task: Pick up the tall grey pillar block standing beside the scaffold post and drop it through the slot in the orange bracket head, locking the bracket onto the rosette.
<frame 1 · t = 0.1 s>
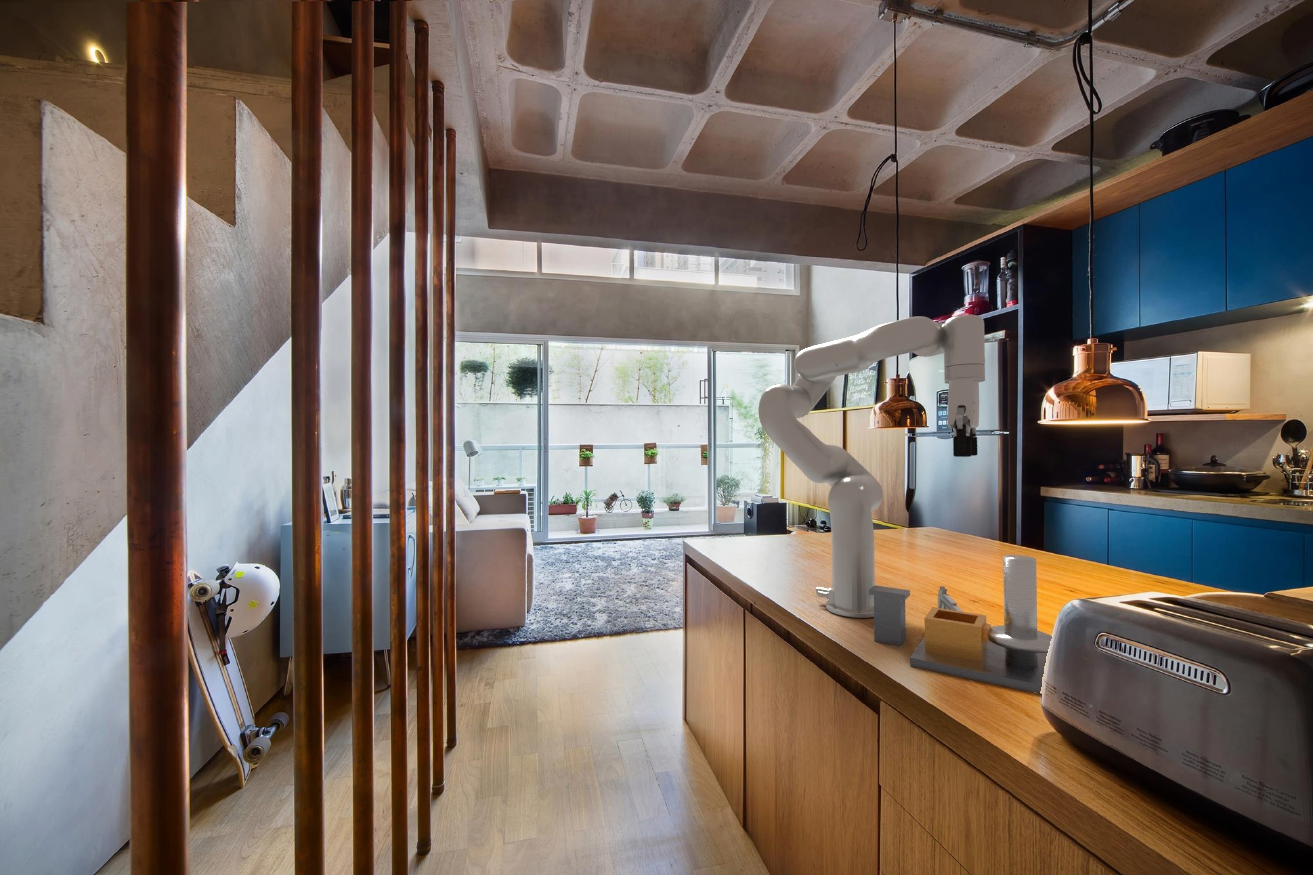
hand: (965, 456, 116), 37 cm above the counter, tool pointing down, fingers open, 9 cm apart
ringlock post: (981, 662, 98), on the counter
caliper: (961, 626, 119), on the counter
tall grey pillar block: (890, 640, 110), on the counter
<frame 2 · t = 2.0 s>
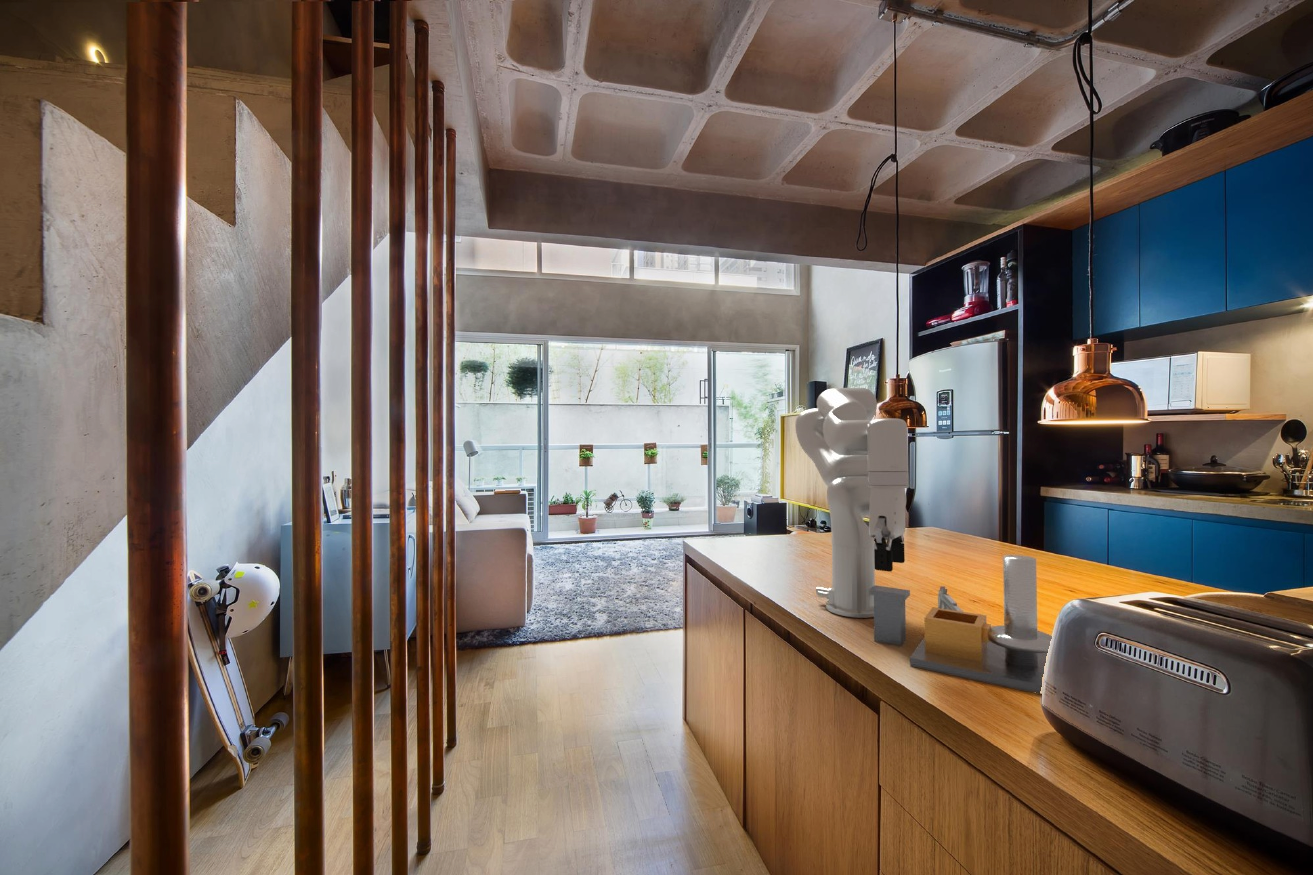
hand: (890, 566, 109), 15 cm above the counter, tool pointing down, fingers open, 9 cm apart
nothing on the counter moved.
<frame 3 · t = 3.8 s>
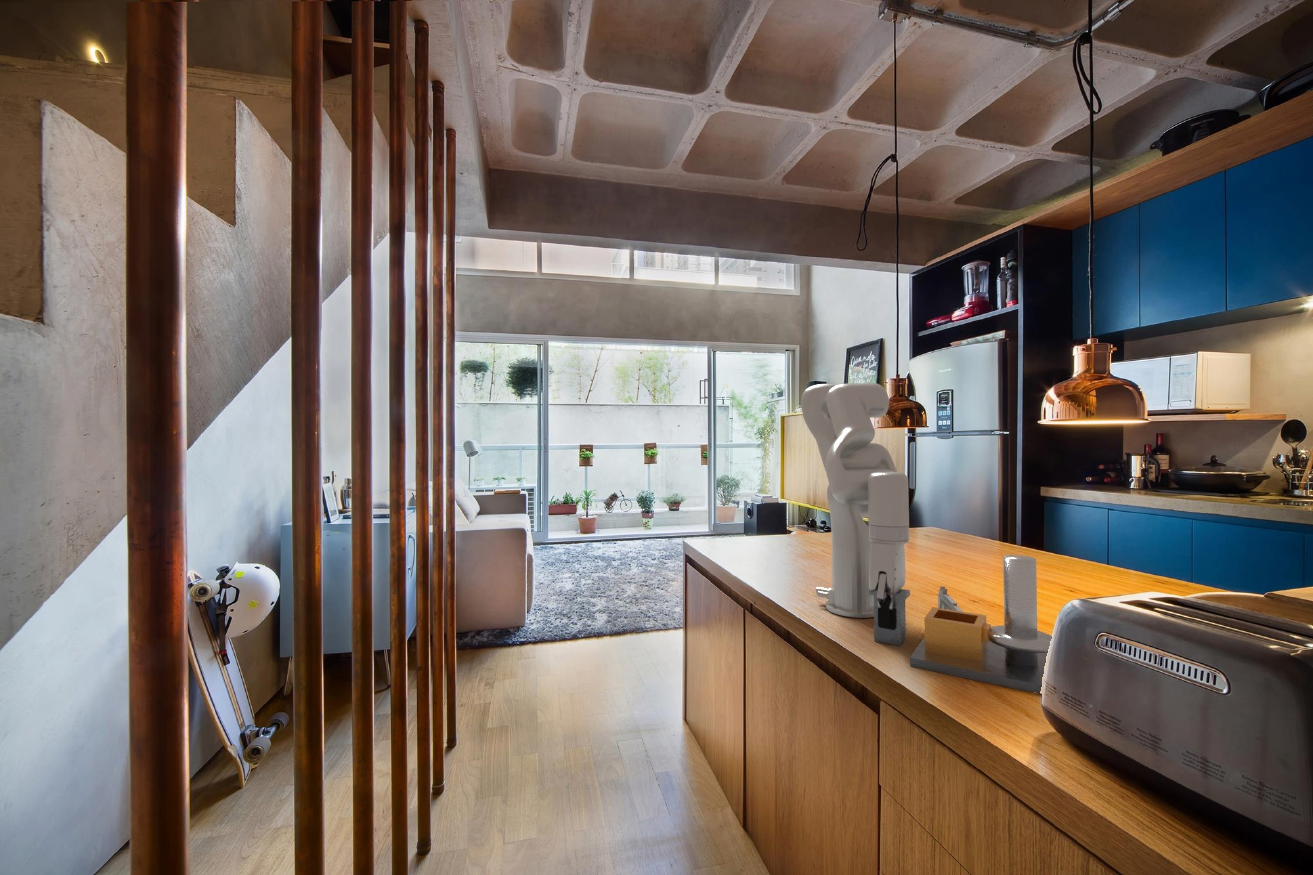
hand: (889, 624, 110), 3 cm above the counter, tool pointing down, fingers closed on tall grey pillar block, 4 cm apart
tall grey pillar block: (890, 640, 110), on the counter, touching gripper
everything else where it was.
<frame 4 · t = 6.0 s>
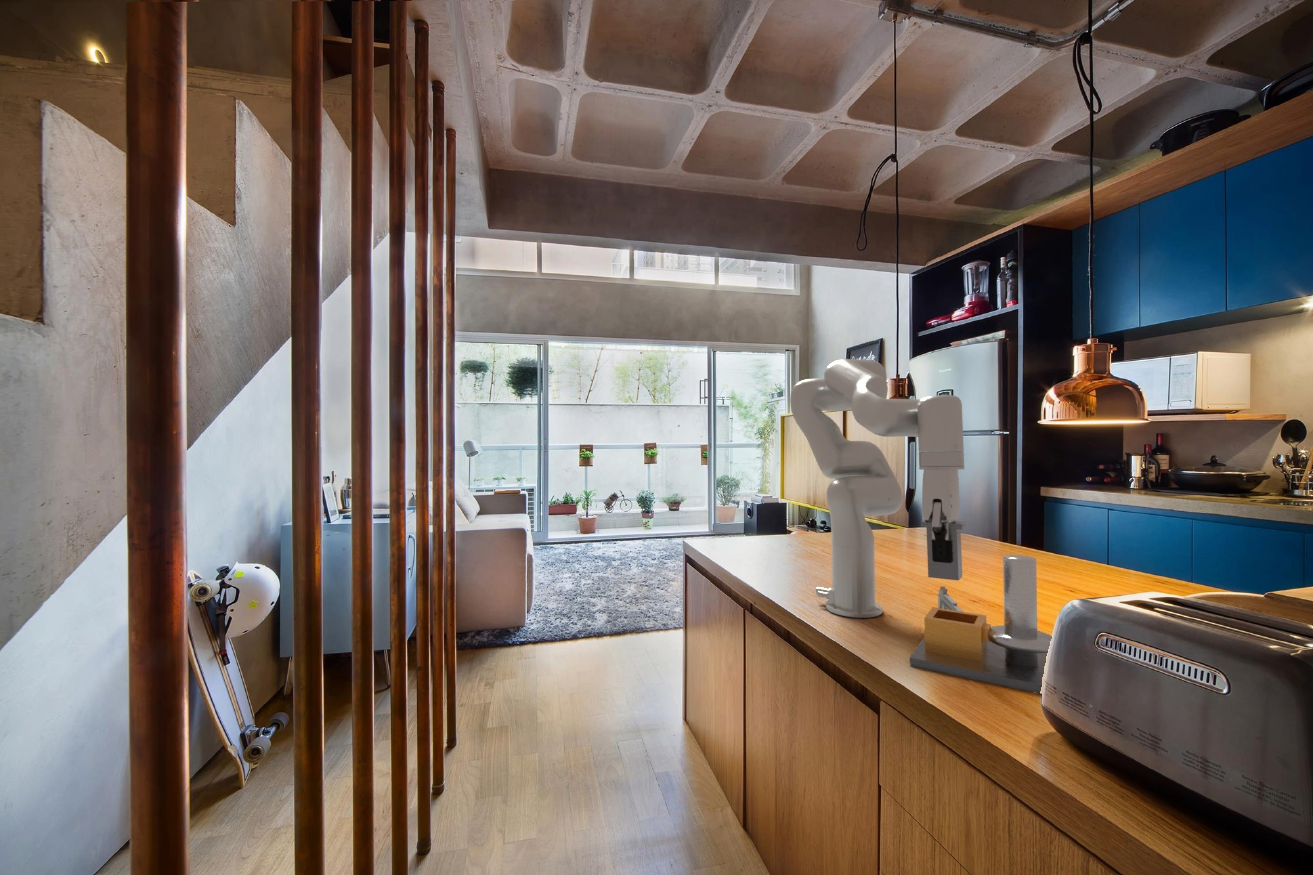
hand: (944, 559, 102), 18 cm above the counter, tool pointing down, fingers closed on tall grey pillar block, 4 cm apart
tall grey pillar block: (945, 576, 102), point 15 cm above the counter, touching gripper
everything else where it was.
when the fingers open (9 cm above the counter, at t = 8.5 s): tall grey pillar block drops 4 cm, resting on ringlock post.
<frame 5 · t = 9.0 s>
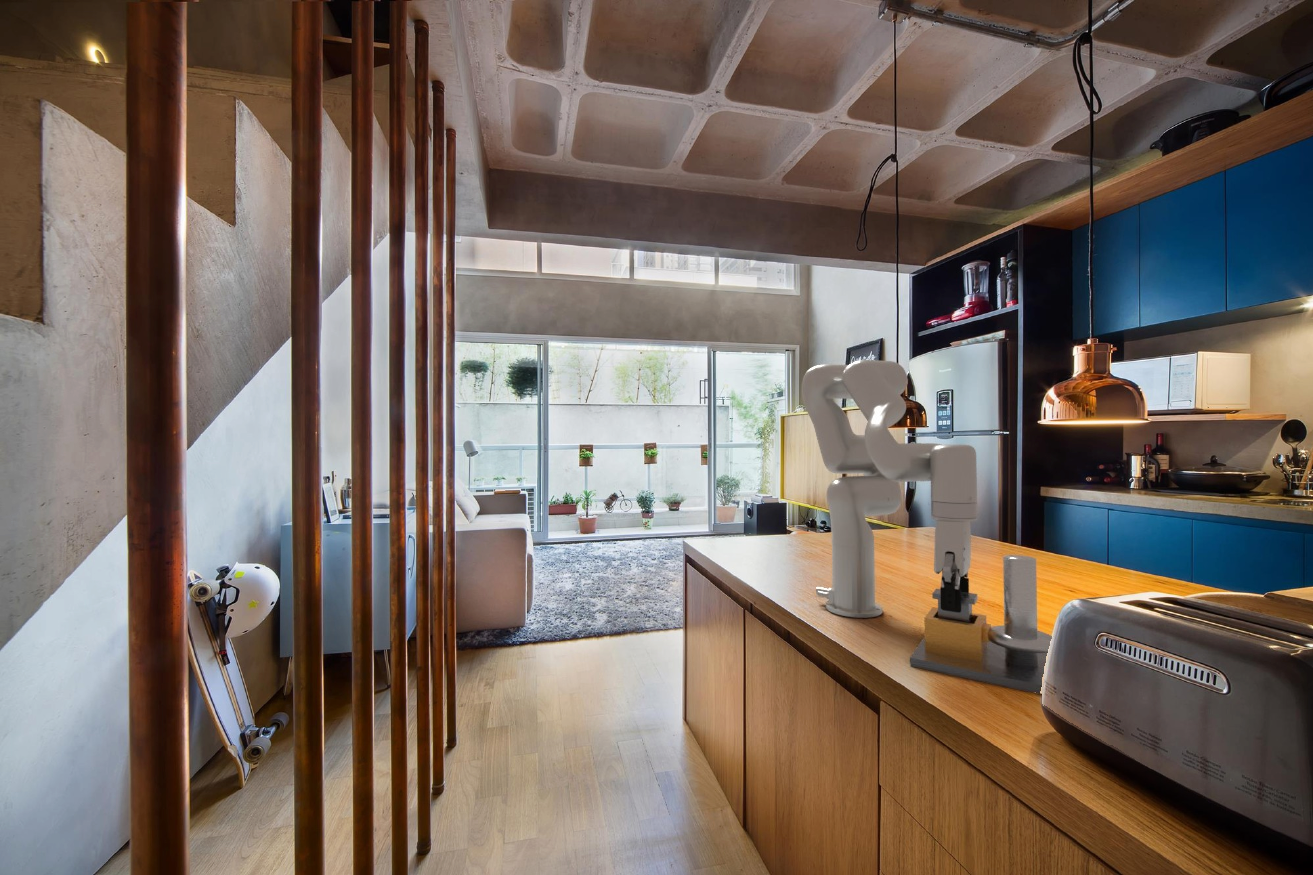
hand: (955, 604, 101), 10 cm above the counter, tool pointing down, fingers open, 9 cm apart
tall grey pillar block: (955, 648, 101), point 1 cm above the counter, touching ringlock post
everything else where it was.
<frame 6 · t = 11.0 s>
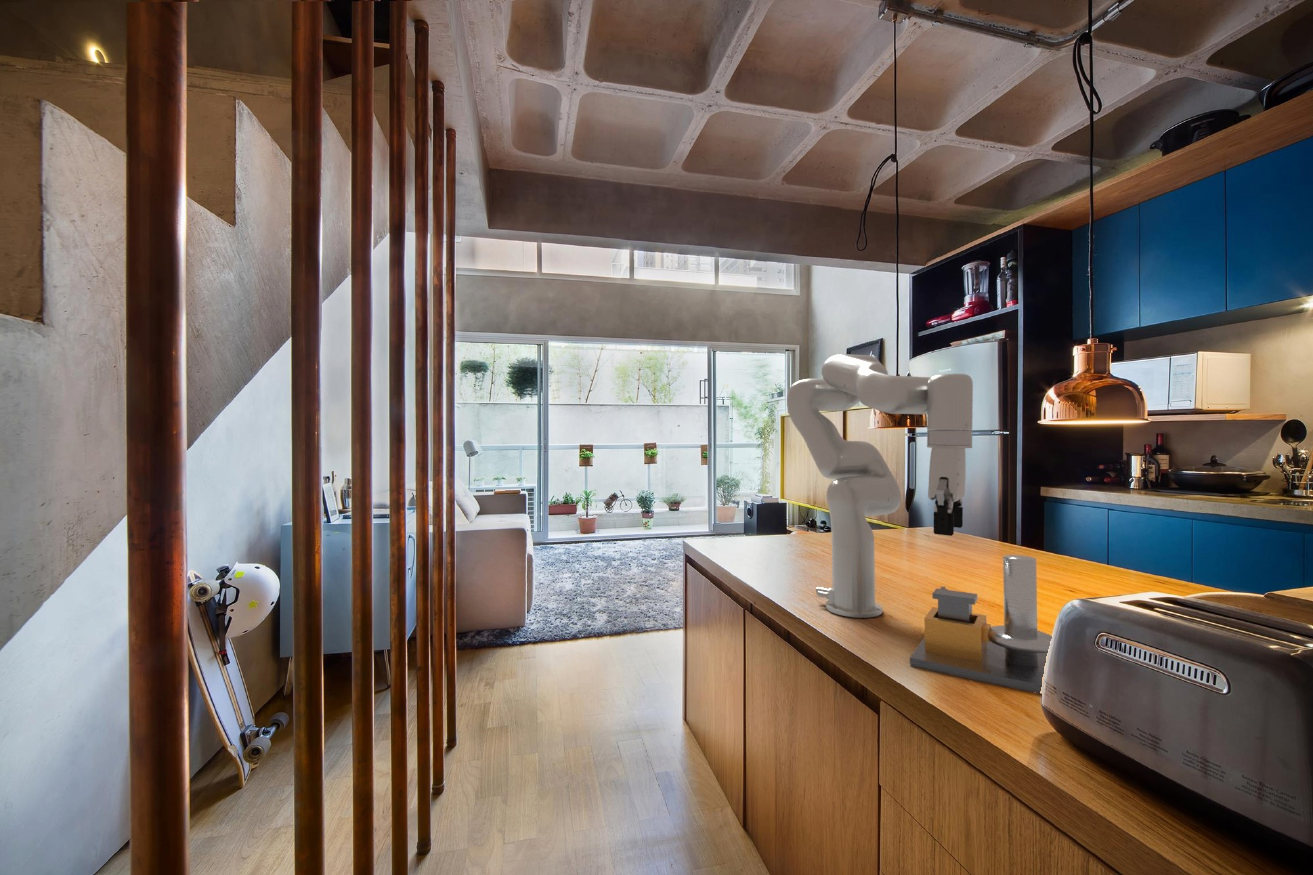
hand: (948, 530, 103), 23 cm above the counter, tool pointing down, fingers open, 9 cm apart
nothing on the counter moved.
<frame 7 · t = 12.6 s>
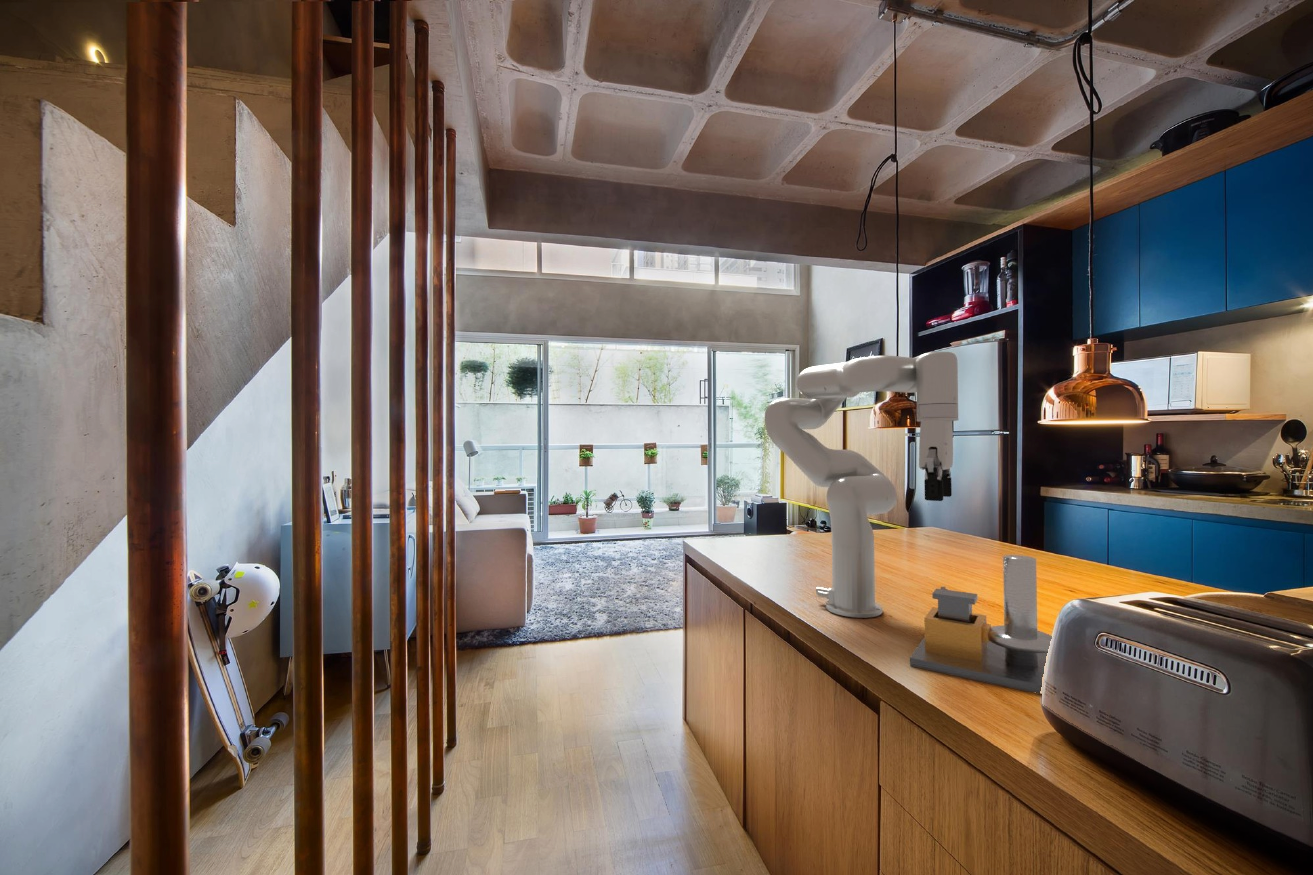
hand: (938, 498, 111), 28 cm above the counter, tool pointing down, fingers open, 9 cm apart
nothing on the counter moved.
at the end: tall grey pillar block 0.1 cm from the target spot on the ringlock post, point 1.5 cm above the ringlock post's base; tall grey pillar block tilted 0°; the gripper is holding nothing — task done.
